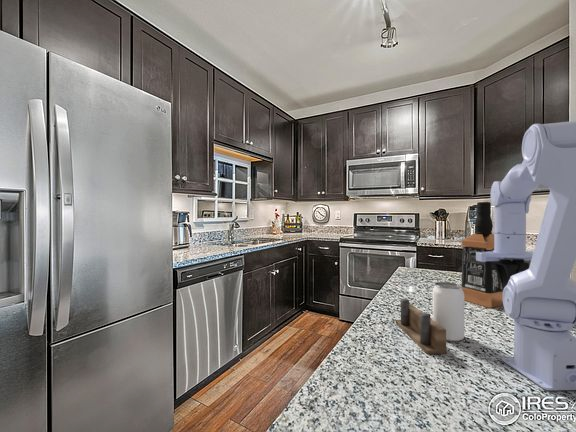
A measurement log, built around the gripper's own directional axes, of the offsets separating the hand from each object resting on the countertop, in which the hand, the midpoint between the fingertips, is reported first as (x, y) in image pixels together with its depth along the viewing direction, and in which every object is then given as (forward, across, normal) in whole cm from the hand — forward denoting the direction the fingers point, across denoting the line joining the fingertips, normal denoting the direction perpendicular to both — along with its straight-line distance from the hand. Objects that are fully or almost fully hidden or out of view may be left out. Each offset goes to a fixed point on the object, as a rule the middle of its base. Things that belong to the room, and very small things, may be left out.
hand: (509, 292), depth 65 cm
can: (+11, +14, -1) cm, 17 cm away
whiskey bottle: (+11, -12, -25) cm, 30 cm away
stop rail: (+10, +20, -1) cm, 23 cm away
